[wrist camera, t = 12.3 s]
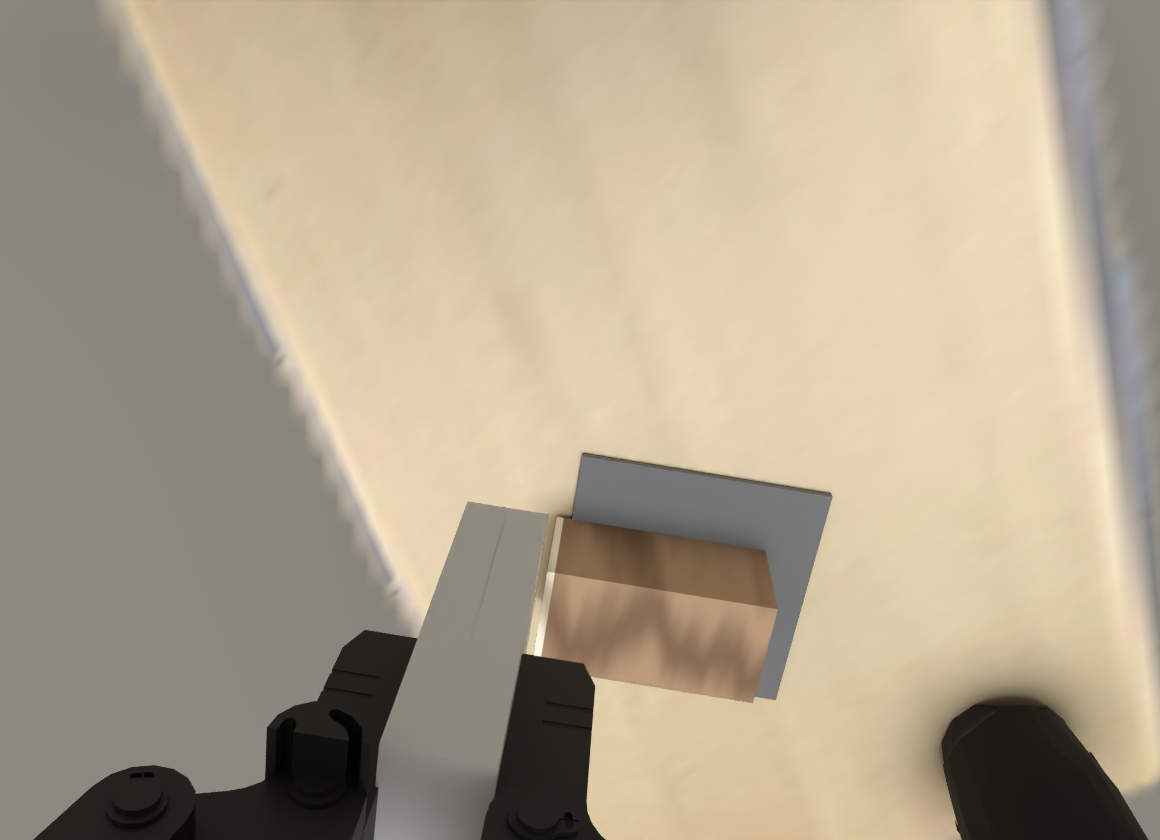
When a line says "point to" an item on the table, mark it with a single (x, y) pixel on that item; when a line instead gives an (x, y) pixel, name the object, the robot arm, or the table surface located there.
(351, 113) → the table surface
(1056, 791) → the portable speaker
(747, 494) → the mat
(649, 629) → the walnut block
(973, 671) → the table surface
